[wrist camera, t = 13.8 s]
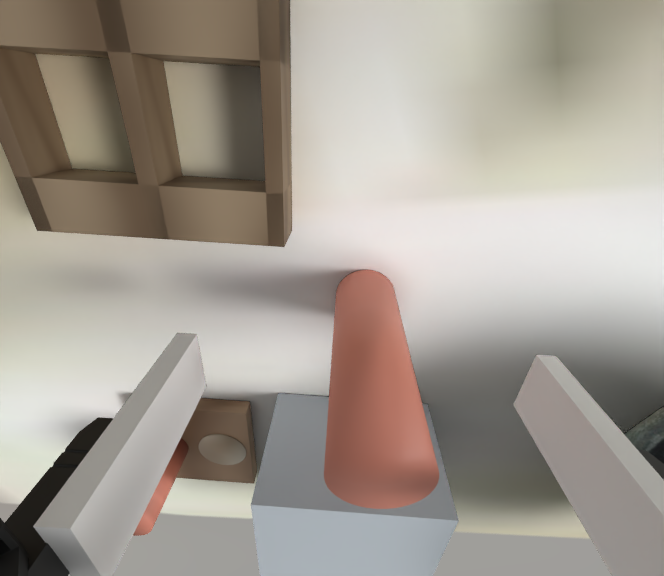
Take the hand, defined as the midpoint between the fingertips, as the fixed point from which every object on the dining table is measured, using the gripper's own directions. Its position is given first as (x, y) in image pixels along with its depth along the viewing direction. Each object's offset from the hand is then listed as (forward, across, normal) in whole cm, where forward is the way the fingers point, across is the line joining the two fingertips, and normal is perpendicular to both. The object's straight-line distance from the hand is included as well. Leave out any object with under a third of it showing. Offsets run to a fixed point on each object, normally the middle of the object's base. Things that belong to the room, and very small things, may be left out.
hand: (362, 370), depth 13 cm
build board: (+6, +9, -8) cm, 14 cm away
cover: (+6, 0, +13) cm, 14 cm away
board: (+6, +11, +13) cm, 18 cm away
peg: (+6, 0, 0) cm, 6 cm away
